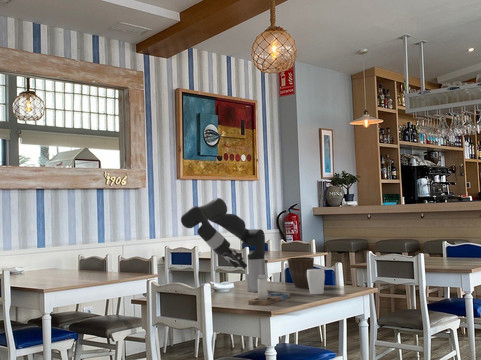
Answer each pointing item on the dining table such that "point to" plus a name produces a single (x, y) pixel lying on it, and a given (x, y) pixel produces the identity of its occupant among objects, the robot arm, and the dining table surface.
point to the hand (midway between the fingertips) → (241, 266)
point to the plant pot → (300, 270)
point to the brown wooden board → (269, 299)
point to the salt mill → (262, 287)
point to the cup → (316, 280)
